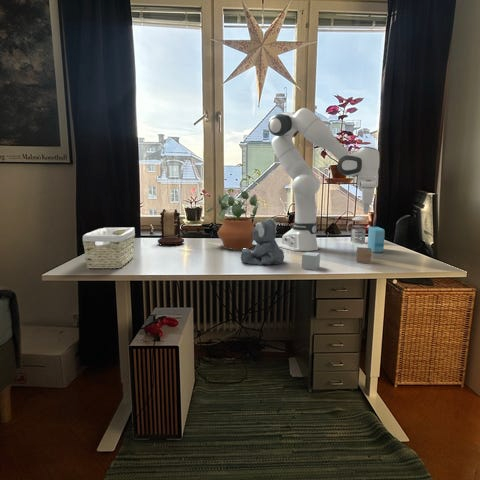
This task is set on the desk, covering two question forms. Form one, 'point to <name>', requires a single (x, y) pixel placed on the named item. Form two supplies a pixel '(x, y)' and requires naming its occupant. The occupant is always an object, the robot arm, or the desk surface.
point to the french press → (358, 229)
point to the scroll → (170, 228)
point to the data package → (376, 239)
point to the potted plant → (236, 222)
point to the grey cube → (310, 260)
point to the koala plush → (264, 245)
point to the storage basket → (109, 247)
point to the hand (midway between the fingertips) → (365, 213)
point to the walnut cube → (363, 255)
